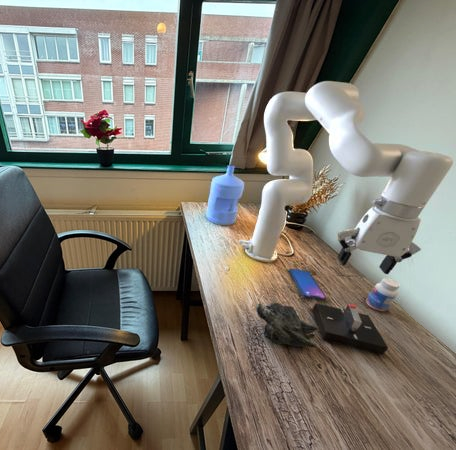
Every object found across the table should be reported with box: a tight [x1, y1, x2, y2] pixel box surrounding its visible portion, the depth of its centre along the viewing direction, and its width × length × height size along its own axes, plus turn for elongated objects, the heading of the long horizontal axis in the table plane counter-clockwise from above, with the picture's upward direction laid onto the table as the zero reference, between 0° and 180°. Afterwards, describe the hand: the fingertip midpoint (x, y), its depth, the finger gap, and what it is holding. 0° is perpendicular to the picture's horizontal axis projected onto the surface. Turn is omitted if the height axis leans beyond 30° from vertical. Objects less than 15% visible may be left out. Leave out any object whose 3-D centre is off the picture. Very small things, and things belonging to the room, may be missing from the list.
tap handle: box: [343, 303, 362, 333], centre depth 67 cm, size 6×2×4 cm, turn 157°
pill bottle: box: [365, 277, 401, 312], centre depth 77 cm, size 6×5×10 cm
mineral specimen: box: [255, 301, 319, 349], centre depth 66 cm, size 15×13×10 cm
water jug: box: [205, 164, 245, 226], centre depth 123 cm, size 16×16×28 cm
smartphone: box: [288, 268, 327, 301], centre depth 86 cm, size 7×1×15 cm
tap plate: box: [311, 302, 389, 356], centre depth 69 cm, size 14×11×3 cm
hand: (361, 266), depth 64 cm, fingers open, 9 cm apart
